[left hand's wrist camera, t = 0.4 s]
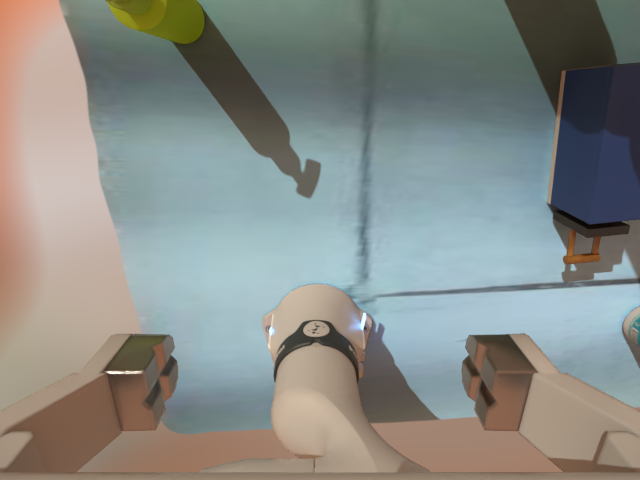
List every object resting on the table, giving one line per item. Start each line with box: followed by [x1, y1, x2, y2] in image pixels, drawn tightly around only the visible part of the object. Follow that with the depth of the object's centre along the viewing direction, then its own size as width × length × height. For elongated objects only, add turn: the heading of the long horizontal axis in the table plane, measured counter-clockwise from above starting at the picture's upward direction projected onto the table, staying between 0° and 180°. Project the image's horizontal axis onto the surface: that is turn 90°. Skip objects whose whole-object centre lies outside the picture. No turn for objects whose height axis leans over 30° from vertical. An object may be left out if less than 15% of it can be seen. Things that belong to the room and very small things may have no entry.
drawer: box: [553, 210, 630, 264], centre depth 52 cm, size 23×5×8 cm, turn 6°
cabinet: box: [547, 63, 640, 224], centre depth 50 cm, size 18×6×10 cm, turn 6°
